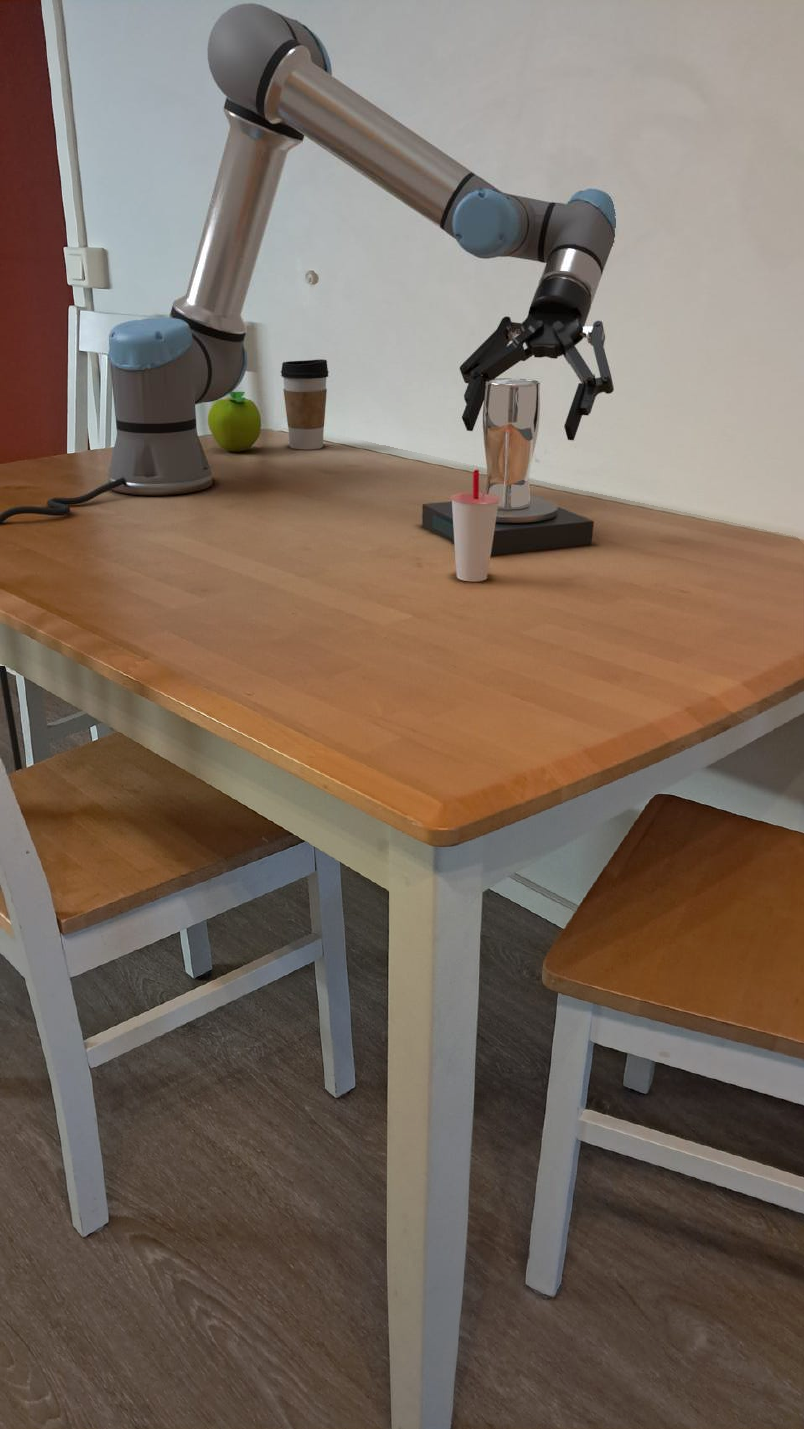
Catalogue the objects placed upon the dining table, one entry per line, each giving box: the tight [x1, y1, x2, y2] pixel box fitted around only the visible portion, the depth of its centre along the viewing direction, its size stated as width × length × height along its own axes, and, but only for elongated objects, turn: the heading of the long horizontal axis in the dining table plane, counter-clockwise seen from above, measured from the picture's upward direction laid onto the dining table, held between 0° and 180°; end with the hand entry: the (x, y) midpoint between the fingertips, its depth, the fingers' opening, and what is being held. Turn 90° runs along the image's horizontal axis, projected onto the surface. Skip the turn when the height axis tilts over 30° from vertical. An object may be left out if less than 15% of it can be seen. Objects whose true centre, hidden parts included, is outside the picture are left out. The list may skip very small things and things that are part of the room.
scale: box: [421, 501, 595, 557], centre depth 136 cm, size 16×16×3 cm
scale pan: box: [496, 495, 559, 523], centre depth 135 cm, size 13×13×1 cm
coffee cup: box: [280, 358, 329, 451], centre depth 190 cm, size 8×8×15 cm
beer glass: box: [482, 377, 541, 510], centre depth 132 cm, size 7×7×15 cm
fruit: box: [207, 391, 262, 453], centre depth 187 cm, size 9×9×10 cm
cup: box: [450, 469, 500, 583], centre depth 117 cm, size 5×5×12 cm
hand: (516, 429), depth 133 cm, fingers open, 13 cm apart
